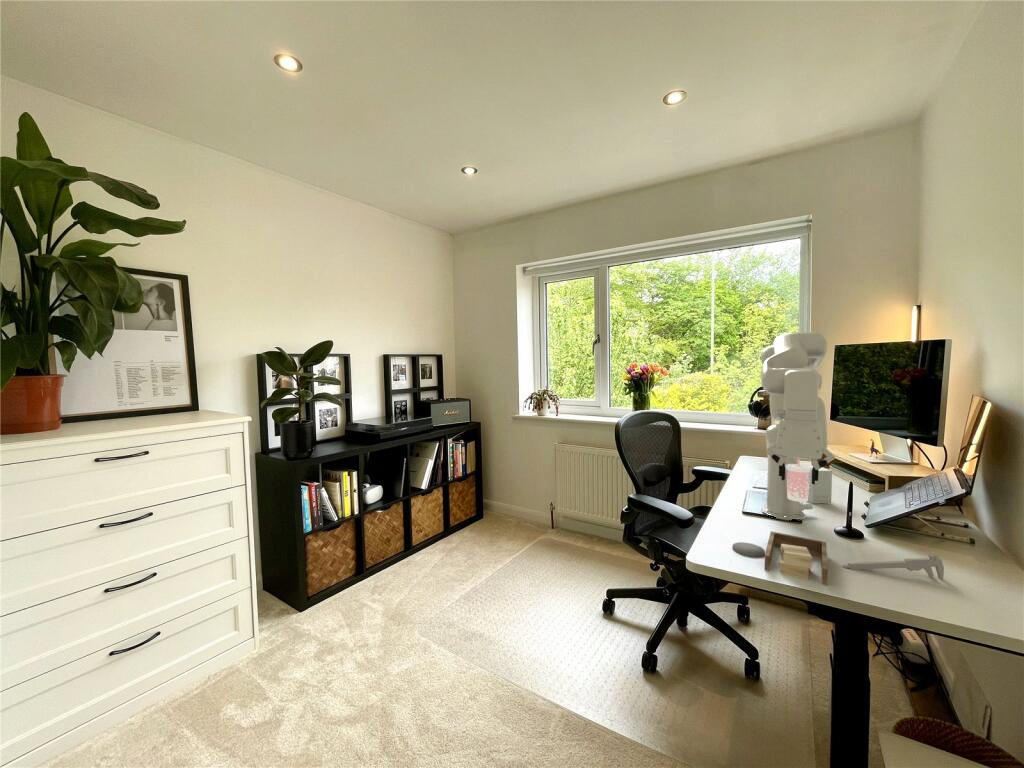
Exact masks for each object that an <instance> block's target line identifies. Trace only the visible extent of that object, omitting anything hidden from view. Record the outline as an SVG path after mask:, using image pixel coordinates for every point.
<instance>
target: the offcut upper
mask: <svg viewBox="0 0 1024 768" xmlns="http://www.w3.org/2000/svg"><path fill="white" fill-rule="evenodd" d="M780 556H781V557H782V559H783V561H784V563H785V564H787V565H793V566H799V567H806V568H810V569H812V565H813V562H812V561H813V555H811V554H810V553H809V551H808V549H807V548H806V547H801V546H794V545H787V544H781V548H780Z"/></svg>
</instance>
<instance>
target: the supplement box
mask: <svg viewBox="0 0 1024 768" xmlns="http://www.w3.org/2000/svg"><path fill="white" fill-rule="evenodd" d="M808 466H809V467H811V468H813V465H808ZM832 483H833V471H832V470H831V469H828V468H825V467H822V468H820V469H819V472H818V481H815V485H814V484H812V472H811V475H810V484H809V494H808V501H807V502H808V503H810V502H811V503H810V504H812V503H831V504H832V491H833V489H832V488H833V487H832V486H833V484H832Z"/></svg>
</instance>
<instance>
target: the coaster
mask: <svg viewBox="0 0 1024 768" xmlns="http://www.w3.org/2000/svg"><path fill="white" fill-rule="evenodd" d="M732 550H733V551H734V552H736V553H737V554H739V555H742V556H745V557H750V558H762V557H765V552H766V549H765V548H763V547H761V546H759V545H757V544H754V543H749V542H743V541H740V542H735V543H733V544H732Z"/></svg>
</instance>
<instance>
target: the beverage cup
mask: <svg viewBox="0 0 1024 768" xmlns="http://www.w3.org/2000/svg"><path fill="white" fill-rule="evenodd" d="M800 460H801V459H798V458H797V461H798V464H787V465H785V469H786V476H787V498H788V499H790V500H793V501H797V502H802V503H806V502H808V494H809V484H810V475H811V472H812V468H811V467H809V466H810V465H806V464H805V465H804V464H801V461H800Z"/></svg>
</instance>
